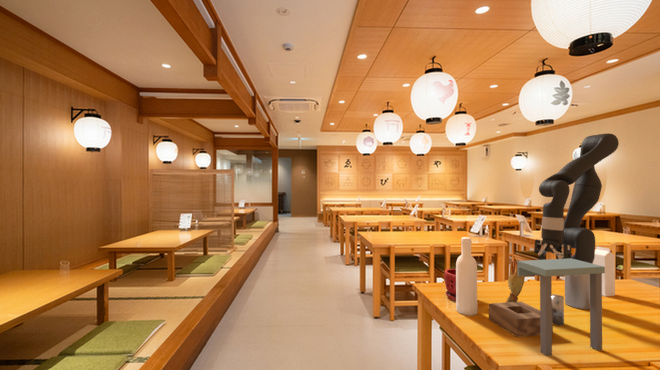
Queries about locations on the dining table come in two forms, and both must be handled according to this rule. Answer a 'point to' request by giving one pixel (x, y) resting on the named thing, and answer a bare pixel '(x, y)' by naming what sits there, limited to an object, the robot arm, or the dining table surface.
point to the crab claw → (514, 283)
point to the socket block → (516, 318)
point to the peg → (558, 309)
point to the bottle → (466, 280)
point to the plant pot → (450, 283)
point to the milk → (606, 269)
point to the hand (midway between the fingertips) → (551, 267)
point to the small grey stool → (546, 271)
